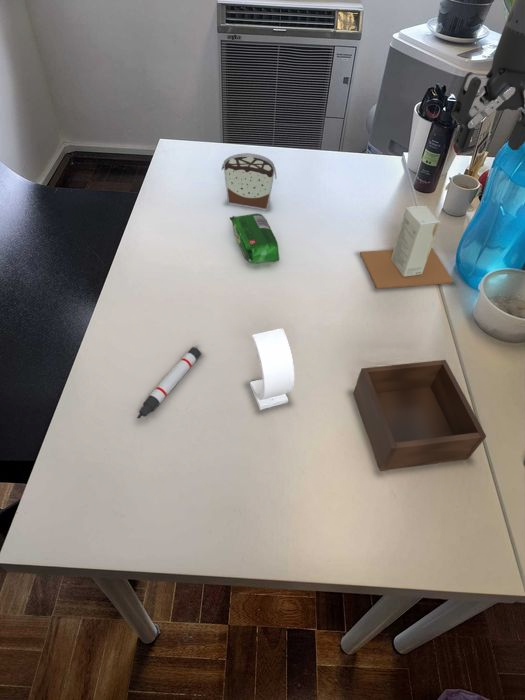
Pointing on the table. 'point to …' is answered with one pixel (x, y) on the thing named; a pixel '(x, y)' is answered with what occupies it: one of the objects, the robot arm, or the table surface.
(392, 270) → the mat
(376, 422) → the compartment
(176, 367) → the marker
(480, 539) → the table surface
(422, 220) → the cosmetic box
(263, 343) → the headphone stand
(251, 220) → the snack package
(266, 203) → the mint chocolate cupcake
